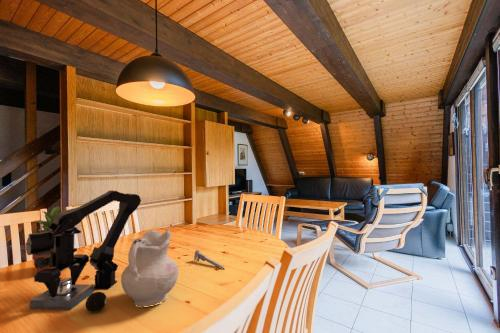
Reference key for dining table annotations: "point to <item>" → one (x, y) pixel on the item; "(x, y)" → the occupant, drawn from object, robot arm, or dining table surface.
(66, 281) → the grey cylinder
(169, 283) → the ceramic pitcher
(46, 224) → the potted plant
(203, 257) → the caliper
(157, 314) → the dining table surface
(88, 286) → the jig
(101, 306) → the billiard ball
